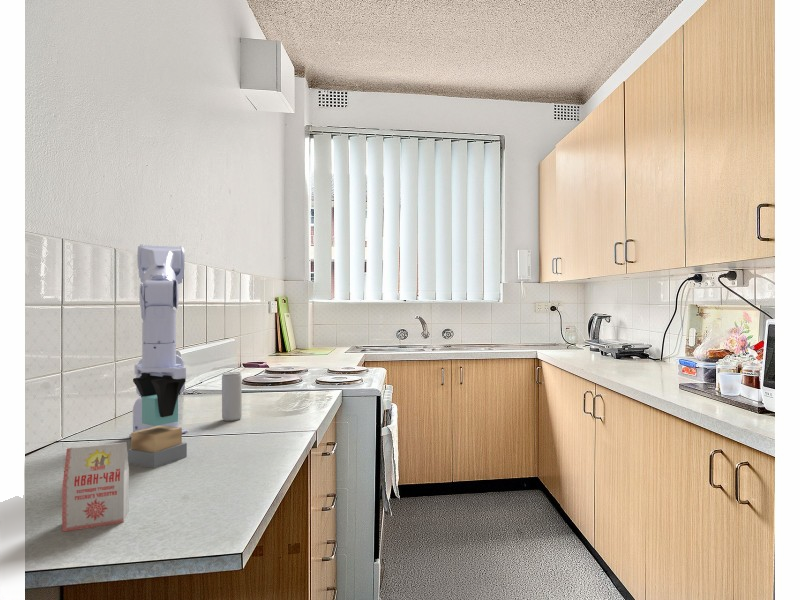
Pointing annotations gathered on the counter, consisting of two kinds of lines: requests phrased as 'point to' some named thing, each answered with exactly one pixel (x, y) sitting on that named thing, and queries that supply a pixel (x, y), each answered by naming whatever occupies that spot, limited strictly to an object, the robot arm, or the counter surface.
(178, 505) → the counter surface
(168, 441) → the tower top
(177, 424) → the robot arm
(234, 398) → the beverage can
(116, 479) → the tea box
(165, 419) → the teal block
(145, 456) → the tower base
